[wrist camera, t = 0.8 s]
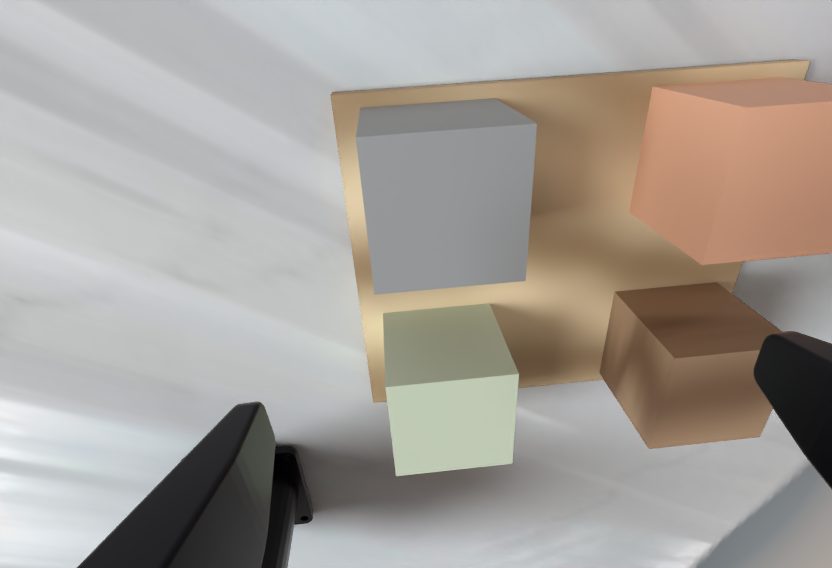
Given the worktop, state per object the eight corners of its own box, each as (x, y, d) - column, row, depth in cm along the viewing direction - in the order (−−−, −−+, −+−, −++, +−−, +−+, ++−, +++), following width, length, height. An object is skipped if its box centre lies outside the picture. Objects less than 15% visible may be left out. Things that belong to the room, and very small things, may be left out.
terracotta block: (741, 202, 20) (843, 252, 16) (629, 211, 20) (701, 265, 15) (780, 77, 17) (915, 94, 13) (652, 86, 17) (746, 107, 13)
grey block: (491, 223, 19) (525, 281, 15) (373, 233, 19) (374, 295, 15) (495, 97, 17) (537, 123, 13) (360, 107, 17) (355, 137, 12)
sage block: (487, 384, 24) (512, 463, 20) (391, 393, 24) (396, 476, 19) (489, 303, 21) (519, 373, 17) (382, 313, 21) (385, 387, 17)
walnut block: (690, 363, 24) (759, 436, 20) (599, 372, 24) (648, 448, 20) (716, 282, 22) (800, 345, 18) (614, 291, 22) (674, 358, 17)
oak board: (697, 359, 25) (706, 369, 25) (373, 391, 25) (373, 402, 24) (793, 59, 18) (810, 60, 17) (332, 92, 17) (330, 95, 16)
